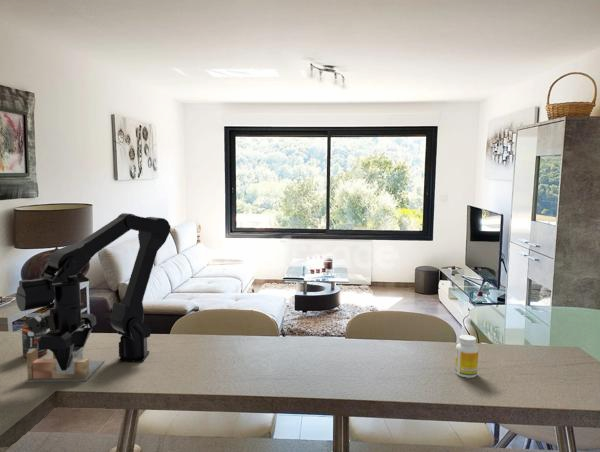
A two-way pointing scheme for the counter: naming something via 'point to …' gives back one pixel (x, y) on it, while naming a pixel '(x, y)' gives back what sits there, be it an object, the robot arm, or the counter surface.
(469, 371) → the supplement bottle
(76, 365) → the block
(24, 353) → the supplement bottle
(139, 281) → the robot arm
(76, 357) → the rough concrete cube
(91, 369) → the mat
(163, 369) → the counter surface
